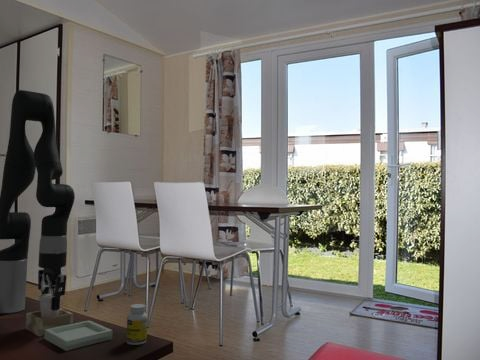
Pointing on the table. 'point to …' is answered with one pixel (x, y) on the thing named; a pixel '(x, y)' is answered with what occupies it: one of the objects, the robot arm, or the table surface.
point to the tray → (77, 335)
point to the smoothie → (47, 306)
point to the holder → (47, 321)
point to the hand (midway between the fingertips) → (50, 307)
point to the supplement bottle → (137, 325)
